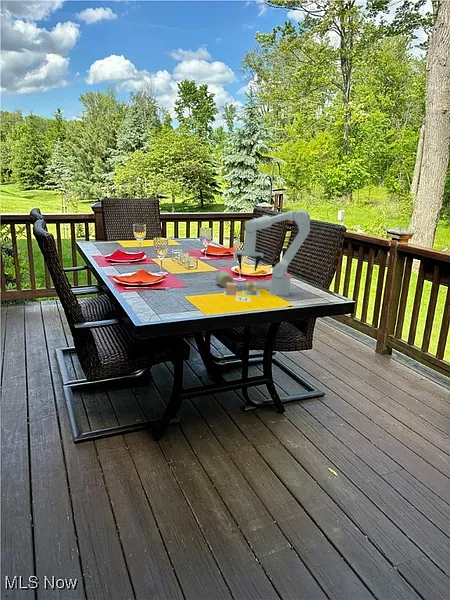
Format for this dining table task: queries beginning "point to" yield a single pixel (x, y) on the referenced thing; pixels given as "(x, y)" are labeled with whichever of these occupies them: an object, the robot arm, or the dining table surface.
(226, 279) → the ceramic mug
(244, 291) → the coaster
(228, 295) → the code tile
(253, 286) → the birch block
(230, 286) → the terracotta block
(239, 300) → the code tile
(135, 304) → the dining table surface
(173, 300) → the dining table surface
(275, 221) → the robot arm
